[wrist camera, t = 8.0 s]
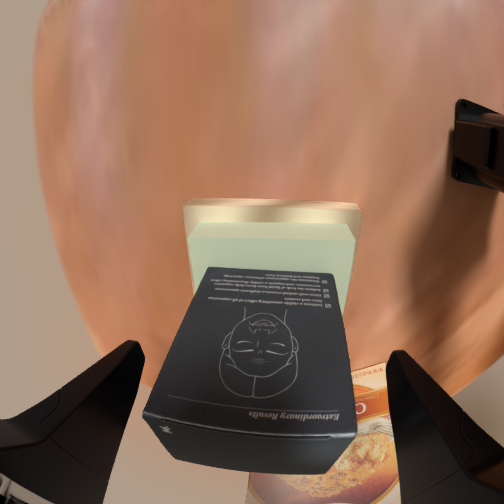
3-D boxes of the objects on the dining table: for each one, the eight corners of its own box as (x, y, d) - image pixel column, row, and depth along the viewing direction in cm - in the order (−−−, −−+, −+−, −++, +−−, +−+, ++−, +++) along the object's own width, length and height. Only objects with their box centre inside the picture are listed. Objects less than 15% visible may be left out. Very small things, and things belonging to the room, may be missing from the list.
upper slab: (346, 224, 18) (355, 240, 16) (330, 334, 23) (333, 356, 20) (198, 222, 19) (187, 237, 17) (213, 331, 24) (207, 352, 21)
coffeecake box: (385, 360, 26) (419, 528, 9) (386, 392, 29) (409, 530, 12) (256, 388, 30) (235, 547, 13) (275, 415, 33) (263, 548, 16)
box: (215, 329, 20) (171, 460, 11) (207, 262, 17) (135, 411, 8) (323, 337, 19) (326, 478, 10) (336, 270, 16) (361, 437, 7)
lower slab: (353, 200, 20) (362, 211, 17) (332, 324, 25) (336, 343, 23) (193, 195, 21) (182, 206, 19) (206, 318, 26) (200, 336, 24)
